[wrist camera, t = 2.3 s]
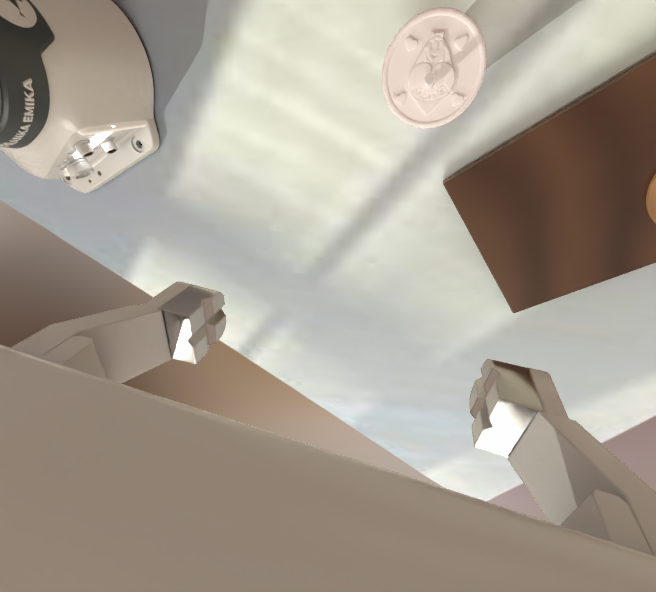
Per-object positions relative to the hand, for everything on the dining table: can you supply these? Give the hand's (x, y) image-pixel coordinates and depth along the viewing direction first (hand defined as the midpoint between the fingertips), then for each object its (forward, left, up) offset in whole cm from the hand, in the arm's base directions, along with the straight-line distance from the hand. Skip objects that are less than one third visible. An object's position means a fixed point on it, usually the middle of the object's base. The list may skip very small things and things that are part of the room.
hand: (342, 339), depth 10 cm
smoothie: (+6, +6, -28) cm, 29 cm away
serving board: (+14, -10, -28) cm, 33 cm away
